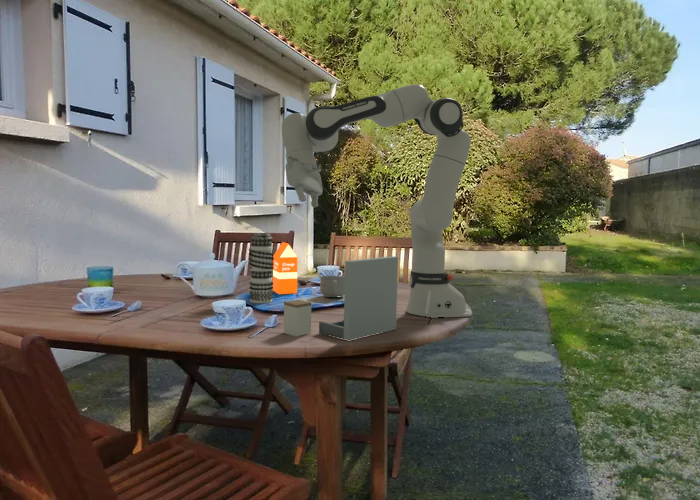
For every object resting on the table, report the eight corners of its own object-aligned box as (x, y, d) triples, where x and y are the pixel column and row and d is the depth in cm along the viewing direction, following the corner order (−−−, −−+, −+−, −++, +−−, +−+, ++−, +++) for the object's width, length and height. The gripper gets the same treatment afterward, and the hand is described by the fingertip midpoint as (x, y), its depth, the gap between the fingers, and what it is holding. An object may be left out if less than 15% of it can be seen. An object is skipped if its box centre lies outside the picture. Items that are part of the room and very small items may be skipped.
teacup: (322, 293, 225) (323, 274, 224) (349, 295, 223) (350, 275, 222) (315, 300, 211) (316, 279, 210) (344, 301, 210) (344, 280, 209)
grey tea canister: (298, 329, 165) (298, 299, 164) (310, 333, 162) (311, 302, 161) (283, 332, 161) (284, 302, 161) (296, 336, 158) (296, 305, 157)
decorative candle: (244, 299, 209) (245, 232, 206) (268, 298, 213) (269, 232, 211) (253, 304, 201) (253, 234, 198) (277, 302, 205) (278, 234, 203)
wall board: (366, 323, 176) (368, 253, 174) (395, 330, 167) (398, 257, 165) (319, 333, 162) (320, 257, 159) (348, 341, 153) (350, 261, 151)
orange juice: (278, 294, 222) (279, 243, 220) (272, 290, 230) (273, 241, 228) (297, 293, 225) (298, 243, 223) (290, 289, 233) (291, 241, 231)
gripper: (296, 151, 169) (304, 194, 166) (322, 168, 188) (330, 207, 185) (277, 157, 171) (285, 200, 168) (305, 173, 190) (312, 212, 187)
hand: (309, 204), depth 177 cm, fingers open, 8 cm apart
